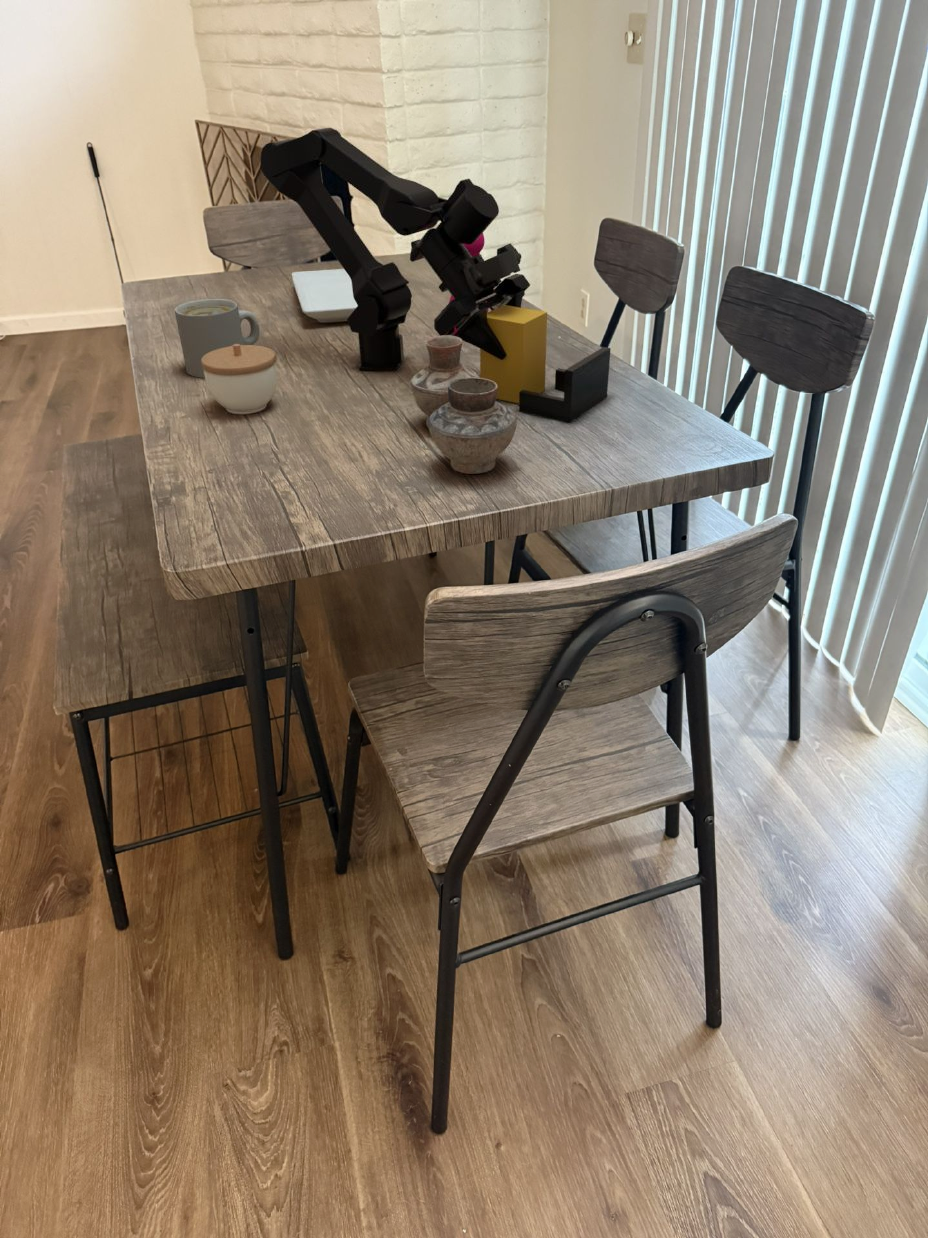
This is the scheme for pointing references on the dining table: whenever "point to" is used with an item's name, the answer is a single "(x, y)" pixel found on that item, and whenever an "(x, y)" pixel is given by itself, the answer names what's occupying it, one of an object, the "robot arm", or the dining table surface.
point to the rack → (572, 389)
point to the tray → (325, 294)
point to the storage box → (516, 352)
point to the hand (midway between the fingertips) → (516, 351)
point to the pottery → (461, 409)
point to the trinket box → (241, 377)
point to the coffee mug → (211, 329)
